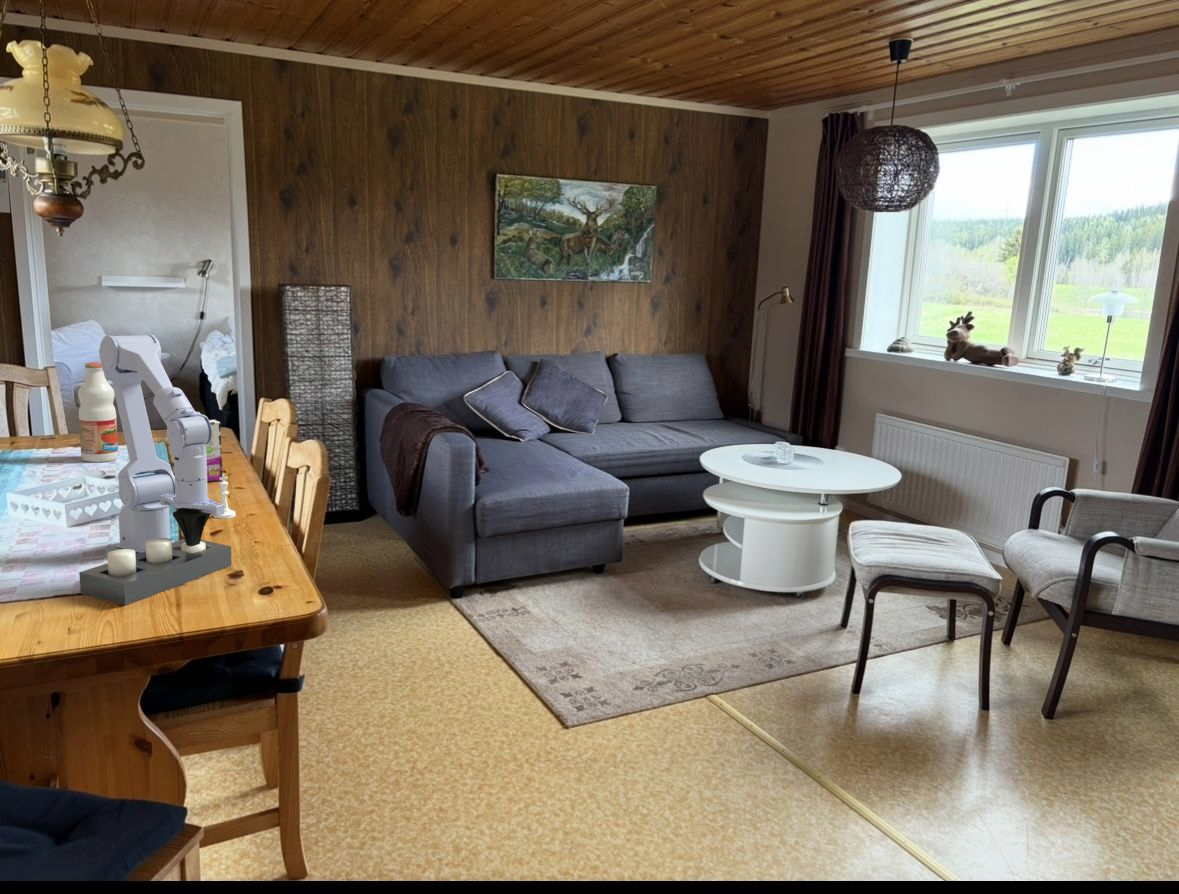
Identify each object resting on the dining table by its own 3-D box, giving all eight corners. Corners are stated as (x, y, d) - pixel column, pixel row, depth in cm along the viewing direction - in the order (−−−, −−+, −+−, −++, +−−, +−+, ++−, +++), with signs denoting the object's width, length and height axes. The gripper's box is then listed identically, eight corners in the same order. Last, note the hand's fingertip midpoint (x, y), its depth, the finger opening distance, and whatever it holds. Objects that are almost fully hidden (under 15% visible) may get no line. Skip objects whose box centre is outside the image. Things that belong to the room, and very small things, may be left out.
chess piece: (209, 514, 205) (208, 473, 203) (230, 511, 208) (229, 471, 206) (218, 519, 201) (217, 478, 199) (239, 516, 205) (238, 475, 203)
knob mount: (80, 593, 154) (79, 572, 154) (190, 555, 177) (189, 537, 176) (125, 605, 150) (124, 583, 150) (231, 565, 173) (231, 546, 172)
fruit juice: (87, 455, 254) (81, 360, 249) (122, 455, 257) (117, 361, 251) (76, 462, 246) (70, 364, 240) (113, 462, 248) (108, 365, 242)
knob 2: (176, 567, 170) (175, 545, 169) (194, 561, 174) (193, 539, 173) (193, 571, 168) (192, 549, 167) (211, 565, 172) (210, 543, 171)
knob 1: (102, 578, 154) (101, 554, 154) (124, 571, 158) (123, 547, 158) (120, 582, 153) (119, 558, 152) (142, 575, 157) (140, 551, 156)
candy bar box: (217, 477, 239) (215, 418, 236) (223, 481, 235) (221, 422, 232) (174, 481, 232) (171, 421, 229) (179, 485, 228) (176, 424, 225)
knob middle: (141, 565, 162) (140, 542, 161) (160, 558, 166) (159, 536, 165) (158, 569, 160) (157, 546, 159) (177, 562, 164) (177, 540, 163)
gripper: (145, 476, 166) (148, 544, 169) (203, 487, 161) (205, 557, 164) (175, 469, 173) (178, 535, 175) (231, 480, 167) (233, 547, 170)
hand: (193, 545), depth 170 cm, fingers closed, pressing on knob 2
